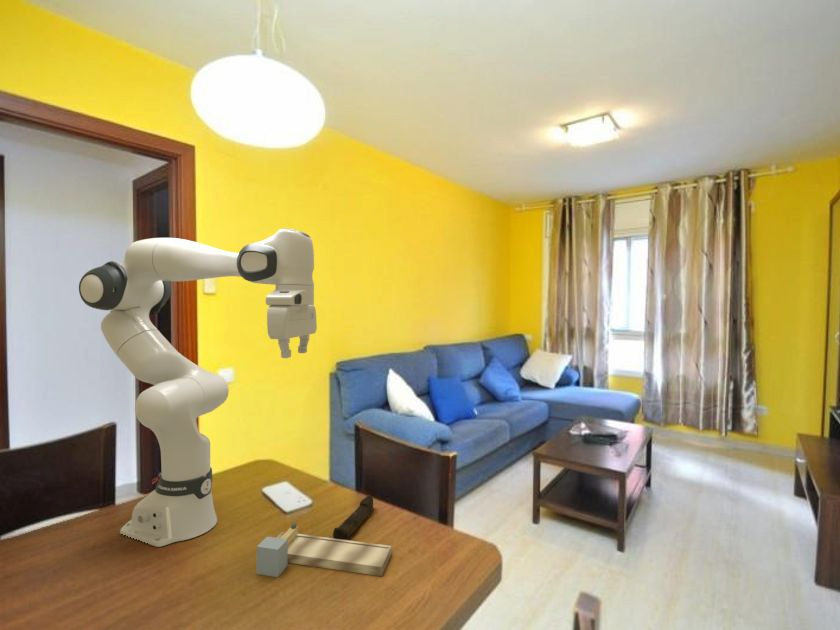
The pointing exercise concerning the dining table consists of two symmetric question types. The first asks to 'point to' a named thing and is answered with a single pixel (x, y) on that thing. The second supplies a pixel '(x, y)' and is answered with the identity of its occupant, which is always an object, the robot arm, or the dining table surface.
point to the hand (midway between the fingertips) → (294, 355)
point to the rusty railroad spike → (354, 519)
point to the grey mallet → (274, 553)
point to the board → (338, 554)
